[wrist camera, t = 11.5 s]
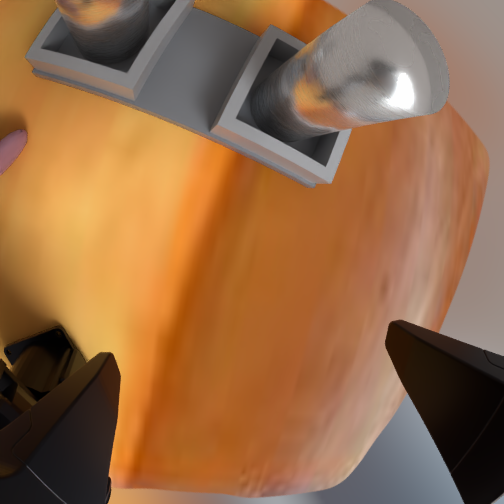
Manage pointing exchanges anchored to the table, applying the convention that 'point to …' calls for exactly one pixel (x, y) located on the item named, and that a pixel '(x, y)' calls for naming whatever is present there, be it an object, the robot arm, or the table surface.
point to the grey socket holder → (195, 83)
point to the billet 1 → (106, 27)
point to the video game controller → (11, 148)
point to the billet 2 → (355, 76)
